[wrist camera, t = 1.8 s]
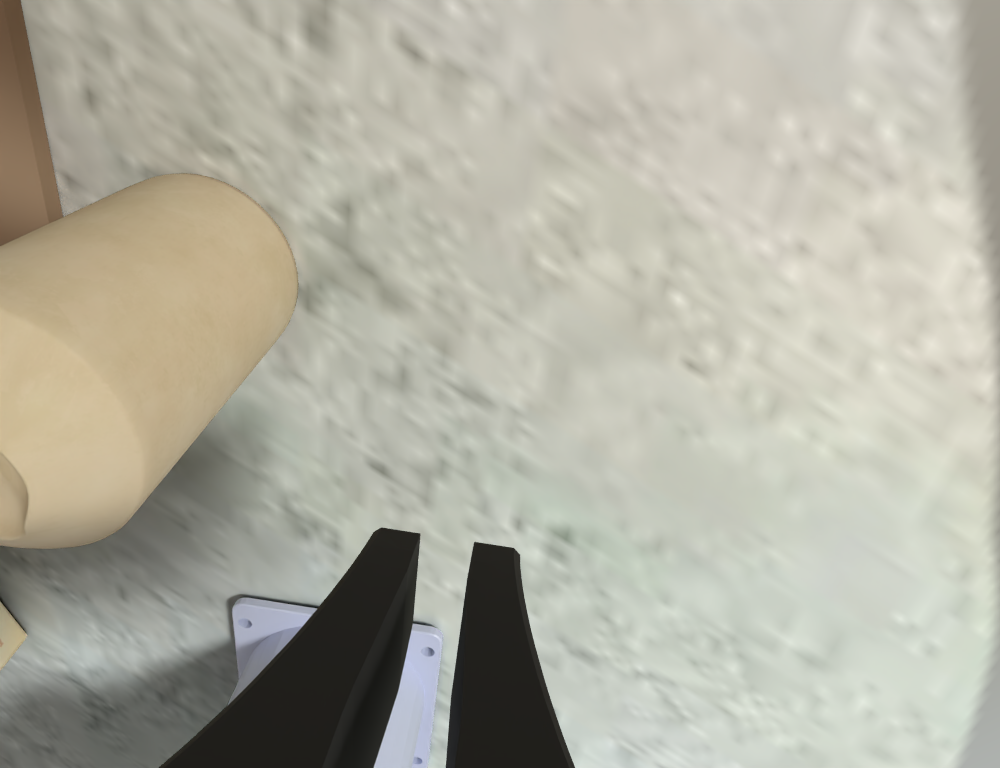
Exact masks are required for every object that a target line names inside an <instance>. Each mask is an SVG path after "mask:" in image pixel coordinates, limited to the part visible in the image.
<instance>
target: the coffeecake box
mask: <svg viewBox="0 0 1000 768" xmlns="http://www.w3.org/2000/svg"><path fill="white" fill-rule="evenodd" d="M26 638H27V634H26V633H25V631H24V630H23V629H22V628H21V627H20V625H19V624H18V623H17V622H16V620H15V619H14V618H13V617H12V615H11V614H10V613H9V612H8V610H7V609H6V608H5V607H4V605H3V604H2V603H1V602H0V671H1V670H2V669H3V667H4V666H5V665H6V663H7V662H8V661H9V660H10V658H11V657H12V656H13V654H14V653H15V652H16V651H17V649H18V648H19V647H20V645H21V644H22V643H23V641H24V640H25V639H26Z"/></svg>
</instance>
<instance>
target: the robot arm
mask: <svg viewBox="0 0 1000 768" xmlns="http://www.w3.org/2000/svg"><path fill="white" fill-rule="evenodd" d="M419 544H420V534H419V533H413V532H406V531H400V530H393V529H387V528H380V529H378V530H376V531H375V532H373V534H372V536H371V537H370V539H369V540H368V542H367V544H366V545H365V547H364V548H363V550H362V551H361V553H360V554H359V555H358V557H357V558H356V560H355V561H354V563H353V564H352V565H351V567H350V568H349V569H348V571H347V572H346V573H345V575H344V576H343V577H342V579H341V580H340V581H339V582H338V584H337V585H336V586H335V588H334V589H333V590H332V592H331V593H330V594H329V595H328V596H327V598H326V599H325V600H324V601H323V602H322V604H321V605H320V606H319V607H318V608H311V607H304V606H298V605H292V604H285V603H279V602H272V601H266V600H260V599H253V598H240V599H238V600H237V601H236V602H235V604H234V606H233V608H232V618H233V628H234V638H235V647H236V657H237V667H238V677H239V681H238V683H237V685H236V688H235V690H234V692H233V694H232V696H231V698H230V700H229V702H228V704H227V707H226V708H224V709H223V710H222V711H221V712H220V713H219V714H218V715H217V716H216V717H215V718H214V719H213V720H212V721H211V722H210V723H209V724H207V725H206V726H205V727H204V728H203V729H202V730H201V731H200V732H199V733H198V734H197V735H196V736H194V737H193V738H192V739H191V740H190V741H189V742H188V743H187V744H186V745H184V746H183V747H182V748H181V749H180V750H179V751H177V752H176V753H175V754H174V755H173V756H172V757H170V758H169V759H168V760H167V761H166V762H165V763H164V764H162V765H161V766H160V767H159V768H428V762H429V754H430V745H431V737H432V728H433V720H434V712H435V703H436V695H437V687H438V678H439V670H440V662H441V653H442V645H443V634H442V632H441V631H440V630H439V629H437V628H435V627H432V626H426V625H420V624H413V614H414V603H415V591H416V579H417V568H418V556H419ZM428 647H429V648H428ZM446 768H575V766H574V764H573V761H572V759H571V756H570V753H569V751H568V748H567V745H566V743H565V740H564V737H563V735H562V732H561V729H560V726H559V723H558V720H557V717H556V714H555V711H554V708H553V706H552V703H551V699H550V696H549V693H548V690H547V687H546V683H545V680H544V677H543V673H542V669H541V666H540V662H539V659H538V655H537V651H536V648H535V644H534V640H533V636H532V632H531V628H530V624H529V619H528V614H527V609H526V604H525V599H524V593H523V587H522V579H521V569H520V555H519V553H518V552H517V551H516V550H515V549H514V548H510V547H503V546H497V545H491V544H484V543H478V542H474V546H473V552H472V557H471V562H470V568H469V573H468V578H467V586H466V593H465V600H464V608H463V615H462V622H461V629H460V637H459V644H458V651H457V659H456V666H455V673H454V681H453V688H452V695H451V706H450V719H449V733H448V746H447V760H446Z"/></svg>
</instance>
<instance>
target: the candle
mask: <svg viewBox="0 0 1000 768" xmlns="http://www.w3.org/2000/svg"><path fill="white" fill-rule="evenodd" d="M297 297H298V273H297V268H296V263H295V259H294V257H293V254H292V251H291V248H290V246H289V244H288V242H287V240H286V238H285V236H284V234H283V233H282V231H281V230H280V228H279V227H278V225H277V224H276V223H275V221H274V220H273V219H272V218H271V216H270V215H269V214H268V213H267V212H266V211H265V210H264V209H263V208H262V207H261V206H260V205H259V204H258V203H256V202H255V201H254V200H253V199H251V198H250V197H249V196H248V195H246V194H244V193H243V192H241V191H240V190H238V189H237V188H235V187H233V186H231V185H229V184H227V183H225V182H222V181H219V180H217V179H214V178H211V177H206V176H202V175H197V174H187V173H182V174H168V175H162V176H157V177H153V178H150V179H147V180H144V181H142V182H139V183H137V184H134V185H132V186H130V187H127V188H125V189H123V190H121V191H119V192H116V193H114V194H112V195H110V196H108V197H106V198H103V199H101V200H99V201H97V202H95V203H93V204H90V205H88V206H86V207H84V208H82V209H80V210H78V211H75V212H73V213H71V214H69V215H67V216H65V217H62V218H60V219H58V220H56V221H54V222H52V223H49V224H47V225H45V226H43V227H41V228H39V229H37V230H34V231H32V232H30V233H28V234H26V235H24V236H21V237H19V238H17V239H15V240H13V241H11V242H8V243H6V244H4V245H2V246H0V545H1V546H8V547H16V548H31V549H55V548H68V547H78V546H82V545H87V544H91V543H94V542H97V541H99V540H102V539H104V538H106V537H108V536H110V535H112V534H113V533H115V532H117V531H118V530H119V529H120V528H122V527H123V526H124V525H125V524H126V523H127V522H128V521H129V520H130V519H131V517H132V516H133V515H134V514H135V513H136V511H137V510H138V509H139V508H140V507H141V505H142V504H143V503H144V502H145V500H146V499H147V498H148V497H149V496H150V494H151V493H152V492H153V491H154V490H155V488H156V487H157V486H158V485H159V483H160V482H161V481H162V480H163V479H164V477H165V476H166V475H167V474H168V472H169V471H170V470H171V469H172V468H173V466H174V465H175V464H176V463H177V462H178V460H179V459H180V458H181V457H182V455H183V454H184V453H185V452H186V451H187V449H188V448H189V447H190V446H191V444H192V443H193V442H194V441H195V440H196V438H197V437H198V436H199V435H200V433H201V432H202V431H203V430H204V429H205V427H206V426H207V425H208V424H209V423H210V421H211V420H212V419H213V418H214V416H215V415H216V414H217V413H218V412H219V410H220V409H221V408H222V407H223V405H224V404H225V403H226V402H227V401H228V399H229V398H230V397H231V396H232V394H233V393H234V392H235V391H236V390H237V388H238V387H239V386H240V385H241V384H242V382H243V381H244V380H245V379H246V377H247V376H248V375H249V374H250V373H251V371H252V370H253V369H254V368H255V366H256V365H257V364H258V363H259V362H260V360H261V359H262V358H263V357H264V355H265V354H266V353H267V352H268V351H269V349H270V348H271V347H272V346H273V344H274V343H275V342H276V341H277V339H278V338H279V337H280V335H281V334H282V333H283V331H284V330H285V328H286V327H287V325H288V323H289V321H290V319H291V316H292V314H293V311H294V309H295V306H296V301H297Z"/></svg>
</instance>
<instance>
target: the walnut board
mask: <svg viewBox="0 0 1000 768" xmlns="http://www.w3.org/2000/svg"><path fill="white" fill-rule="evenodd" d="M62 217H63V215H62V210H61V204H60V199H59V194H58V189H57V184H56V179H55V174H54V169H53V164H52V159H51V154H50V149H49V144H48V138H47V133H46V128H45V123H44V118H43V113H42V108H41V103H40V98H39V93H38V88H37V83H36V77H35V72H34V67H33V62H32V57H31V52H30V47H29V42H28V37H27V32H26V27H25V22H24V17H23V11H22V6H21V1H20V0H0V246H2V245H4V244H6V243H8V242H11V241H13V240H15V239H17V238H19V237H21V236H24V235H26V234H28V233H30V232H32V231H34V230H37V229H39V228H41V227H43V226H45V225H47V224H49V223H52V222H54V221H56V220H58V219H60V218H62Z"/></svg>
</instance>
